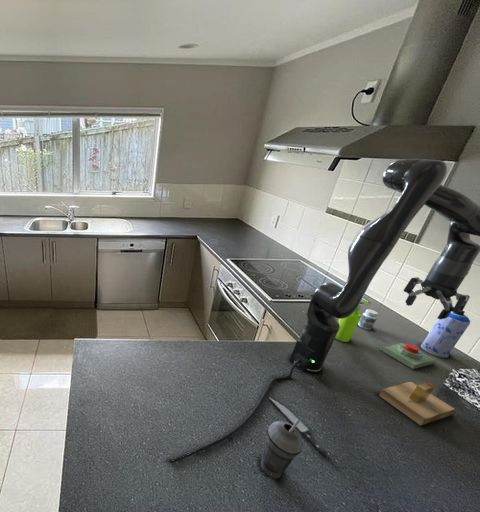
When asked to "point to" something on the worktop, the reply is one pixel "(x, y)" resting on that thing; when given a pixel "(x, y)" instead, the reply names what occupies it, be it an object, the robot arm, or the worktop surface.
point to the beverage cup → (280, 447)
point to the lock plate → (416, 404)
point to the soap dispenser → (349, 324)
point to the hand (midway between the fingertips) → (423, 311)
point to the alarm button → (411, 348)
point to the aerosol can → (446, 334)
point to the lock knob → (422, 392)
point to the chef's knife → (298, 425)
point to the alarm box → (408, 356)
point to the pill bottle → (368, 319)
